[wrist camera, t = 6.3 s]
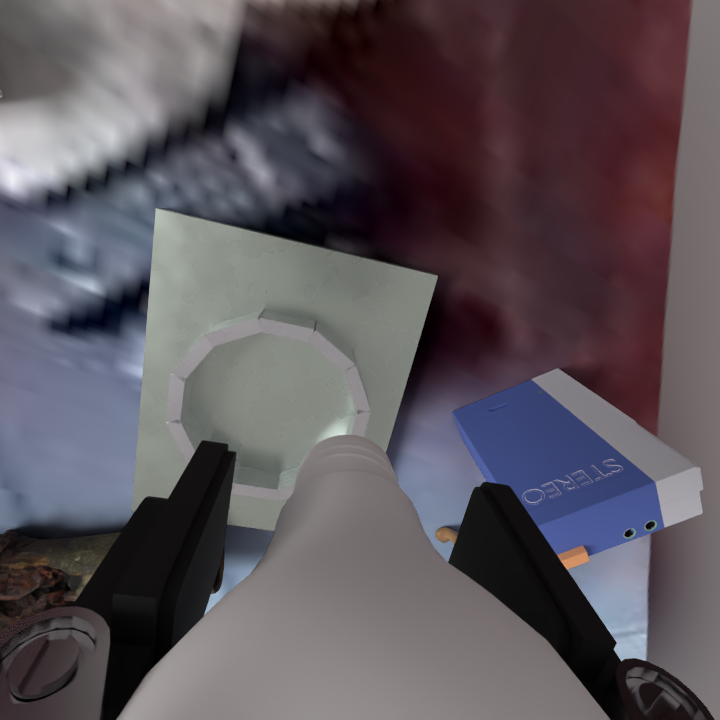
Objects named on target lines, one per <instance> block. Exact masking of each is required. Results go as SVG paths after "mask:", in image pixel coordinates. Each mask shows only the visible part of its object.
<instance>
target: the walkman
mask: <svg viewBox="0 0 720 720" xmlns="http://www.w3.org/2000/svg"><path fill="white" fill-rule="evenodd" d="M452 413H453V416H454V418H455V421H456V423H457V426H458V428H459V431H460V434H461V436H462V439H463V441H464V444H465V445H466V447H467V449H468V450H469V452H470V454H471V455H472V457H473V459H474V461H475V462H476V464H477V466H478V467H479V469H480V471H481V473H482V474H483V476H484V478H485V479H486V481H487V482H491V483H498V484H505V485H509V486H510V487H511V488H512V490H513V491H514V493H515V494H516V496H517V497H518V499H519V500H520V501H521V503H522V504H523V506H524V507H525V509H526V510H527V512H528V513H529V515H530V516H531V518H532V519H533V521H534V522H535V524H536V525H537V526H538V528H539V529H540V531H541V532H542V534H543V535H544V537H545V538H546V540H547V541H548V543H549V544H550V546H551V547H552V549H553V550H554V552H555V553H556V554H557V556H558V557H559V559H560V560H561V562H562V563H563V565H564V566H565V568H566V569H569V568H572V567H575V566H577V565H580V564H583V563H585V562H588V561H589V557H588V556H590V555H593V554H596V553H598V552H601V551H604V550H606V549H609V548H612V547H615V546H617V545H620V544H623V543H625V542H628V541H631V540H633V539H636V538H639V537H641V536H644V535H647V534H649V533H652V532H655V531H658V530H660V529H663V528H665V527H667V526H670V525H673V524H675V523H678V522H681V521H683V520H686V519H689V518H691V517H694V516H697V515H699V514H702V513H703V512H702V506H701V500H700V494H699V491H700V490H703V484H702V478H701V470H700V467H699V466H698V465H697V464H695V463H694V462H692V461H691V460H689V459H688V458H686V457H685V456H683V455H682V454H680V453H679V452H678V451H676V450H675V449H673V448H672V447H670V446H669V445H667V444H666V443H665V442H663V441H662V440H660V439H659V438H657V437H656V436H654V435H653V434H651V433H650V432H649V431H647V430H646V429H644V428H643V427H641V426H640V425H638V424H637V422H636V421H634V420H633V419H632V418H630V417H629V416H627V415H626V414H624V413H623V412H621V411H620V410H618V409H617V408H615V407H614V406H612V405H611V404H610V403H608V402H607V401H605V400H604V399H602V398H601V397H599V396H598V395H596V394H595V393H593V392H592V391H591V390H589V389H588V388H586V387H585V386H583V385H582V384H580V383H579V382H577V381H576V380H574V379H573V378H571V377H570V376H569V375H567V374H566V373H564V372H563V371H561V370H560V369H558V368H557V369H555V370H552V371H550V372H547V373H545V374H542V375H540V376H538V377H535V378H533V379H531V380H528V381H526V382H523V383H521V384H519V385H516V386H514V387H511V388H509V389H506V390H504V391H502V392H499V393H497V394H494V395H492V396H489V397H487V398H484V399H482V400H480V401H477V402H475V403H472V404H470V405H467V406H465V407H462V408H460V409H458V410H455V411H453V412H452Z"/></svg>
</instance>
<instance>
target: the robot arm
mask: <svg viewBox="0 0 720 720" xmlns="http://www.w3.org/2000/svg"><path fill="white" fill-rule="evenodd" d="M235 462H236V452H235V451H228V444H226V443H220V442H213V441H206V440H202V441H201V442H200V444H199V446H198V448H197V449H196V451H195V453H194V454H193V456H192V458H191V460H190V461H189V463H188V465H187V467H186V468H185V470H184V472H183V473H182V475H181V477H180V479H179V480H178V482H177V484H176V486H175V487H174V489H173V491H172V493H171V494H170V496H169V498H160V497H152V496H147V497H146V498H144V500H143V501H142V502H141V503H140V505H139V506H138V508H137V509H136V511H135V512H134V514H133V515H132V517H131V518H130V520H129V521H128V523H127V524H126V526H125V527H124V529H123V530H122V532H121V533H120V535H119V536H118V538H117V539H116V541H115V542H114V544H113V545H112V547H111V548H110V550H109V551H108V553H107V554H106V556H105V557H104V559H103V560H102V562H101V563H100V565H99V566H98V568H97V569H96V571H95V572H94V574H93V575H92V577H91V578H90V580H89V581H88V583H87V584H86V586H85V587H84V589H83V590H82V592H81V593H80V595H79V596H78V598H77V599H76V601H75V602H74V604H73V605H72V607H57V608H53V609H49V610H46V611H42V612H38V613H36V614H34V615H32V616H30V617H27V618H25V619H23V620H21V621H19V622H17V623H16V624H14V625H13V626H11V627H10V628H9V629H7V630H6V631H4V632H3V633H1V634H0V720H116V719H117V718H118V716H119V715H120V713H121V712H122V710H123V709H124V707H125V706H126V704H127V703H128V701H129V700H130V698H131V697H132V695H133V694H134V692H135V691H136V689H137V688H138V686H139V685H140V683H141V682H142V680H143V679H144V677H145V676H146V674H147V673H148V672H149V671H150V670H151V669H152V668H153V667H154V666H155V665H156V664H157V663H158V662H159V661H160V660H161V659H162V658H163V657H164V656H165V655H166V654H167V653H168V652H169V651H170V650H171V649H172V648H173V647H174V646H175V645H176V644H177V643H178V642H179V641H180V640H181V639H182V638H183V637H184V636H185V635H186V634H187V633H188V632H189V631H190V630H191V629H192V628H193V627H194V625H195V624H196V623H197V622H198V621H199V620H200V619H201V618H202V617H203V616H204V613H205V610H206V607H207V604H208V601H209V597H210V594H211V591H212V588H213V585H214V582H215V579H216V575H217V572H218V569H219V566H220V562H221V558H222V554H223V548H224V541H225V534H226V527H227V519H228V512H229V505H230V498H231V491H232V484H233V476H234V469H235ZM448 563H449V564H451V565H452V566H454V567H455V568H456V569H458V570H459V571H461V572H462V573H464V574H465V575H467V576H468V577H469V578H471V579H472V580H473V581H475V582H476V583H478V584H479V585H480V586H482V587H483V588H484V589H486V590H487V591H488V592H490V593H491V594H492V595H493V596H495V597H496V598H497V599H498V600H499V601H501V602H502V603H503V604H504V605H505V606H507V607H508V608H509V609H510V610H511V611H513V612H514V613H515V614H516V615H517V616H519V617H520V618H521V619H522V620H523V621H524V622H526V623H527V624H528V625H529V626H530V627H532V628H533V629H534V630H535V631H536V632H538V633H539V634H540V635H541V636H542V637H544V638H545V639H546V640H547V641H548V642H549V643H550V645H551V646H552V647H553V648H554V649H555V651H556V652H557V653H558V654H559V656H560V657H561V658H562V659H563V660H564V662H565V663H566V664H567V665H568V667H569V668H570V669H571V670H572V672H573V673H574V674H575V675H576V677H577V678H578V679H579V680H580V682H581V683H582V684H583V686H584V687H585V688H586V689H587V691H588V692H589V693H590V694H591V696H592V697H593V698H594V699H595V701H596V702H597V703H598V705H599V706H600V707H601V708H602V710H603V711H604V712H605V713H606V715H607V716H608V717H609V718H610V720H714V718H713V716H712V715H711V713H710V712H709V710H708V709H707V707H706V706H705V705H704V704H703V703H702V702H701V700H700V699H699V698H698V697H697V696H696V695H695V694H694V693H693V692H692V691H691V690H690V689H689V688H688V687H687V686H685V685H684V684H683V683H682V682H681V681H680V680H679V679H677V678H676V677H674V676H673V675H671V674H670V673H669V672H667V671H666V670H664V669H663V668H660V667H658V666H656V665H654V664H652V663H650V662H648V661H644V660H640V659H636V658H632V659H624V660H623V661H621V660H620V659H619V657H618V656H617V654H616V653H615V651H614V650H613V649H614V647H615V645H616V641H615V640H614V638H613V637H612V635H611V634H610V632H609V631H608V630H607V628H606V627H605V625H604V624H603V622H602V621H601V619H600V618H599V616H598V615H597V613H596V612H595V610H594V609H593V607H592V606H591V604H590V603H589V602H588V600H587V599H586V597H585V596H584V594H583V593H582V591H581V590H580V588H579V587H578V585H577V584H576V582H575V581H574V579H573V578H572V577H571V575H570V574H569V572H568V571H567V569H566V568H565V566H564V565H563V563H562V562H561V560H560V559H559V557H558V556H557V554H556V553H555V552H554V550H553V549H552V547H551V546H550V544H549V543H548V541H547V540H546V538H545V537H544V535H543V534H542V532H541V531H540V529H539V528H538V526H537V525H536V524H535V522H534V521H533V519H532V518H531V516H530V515H529V513H528V512H527V510H526V509H525V507H524V506H523V504H522V503H521V501H520V500H519V499H518V497H517V496H516V494H515V493H514V491H513V490H512V488H511V487H510V486H509V485H505V484H498V483H491V482H484V483H482V485H481V486H480V487H475V488H474V490H473V492H472V495H471V498H470V501H469V504H468V506H467V509H466V512H465V515H464V518H463V521H462V524H461V527H460V530H459V533H458V536H457V539H456V541H455V544H454V547H453V550H452V553H451V556H450V559H449V562H448Z"/></svg>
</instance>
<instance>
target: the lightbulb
mask: <svg viewBox="0 0 720 720" xmlns="http://www.w3.org/2000/svg"><path fill="white" fill-rule="evenodd" d="M116 720H610V718H609V717H608V716H607V715H606V713H605V712H604V711H603V710H602V708H601V707H600V706H599V705H598V703H597V702H596V701H595V699H594V698H593V697H592V696H591V694H590V693H589V692H588V691H587V689H586V688H585V687H584V686H583V684H582V683H581V682H580V680H579V679H578V678H577V677H576V675H575V674H574V673H573V672H572V670H571V669H570V668H569V667H568V665H567V664H566V663H565V662H564V660H563V659H562V658H561V657H560V656H559V654H558V653H557V652H556V651H555V649H554V648H553V647H552V646H551V645H550V643H549V642H548V641H547V640H546V639H545V638H544V637H542V636H541V635H540V634H539V633H538V632H536V631H535V630H534V629H533V628H532V627H530V626H529V625H528V624H527V623H526V622H524V621H523V620H522V619H521V618H520V617H519V616H517V615H516V614H515V613H514V612H513V611H511V610H510V609H509V608H508V607H507V606H505V605H504V604H503V603H502V602H501V601H499V600H498V599H497V598H496V597H495V596H493V595H492V594H491V593H490V592H488V591H487V590H486V589H484V588H483V587H482V586H480V585H479V584H478V583H476V582H475V581H473V580H472V579H471V578H469V577H468V576H467V575H465V574H464V573H462V572H461V571H459V570H458V569H456V568H455V567H454V566H452V565H451V564H449V563H448V562H447V561H446V560H445V559H444V558H443V557H442V556H441V555H440V554H439V553H438V552H437V550H436V549H435V548H434V547H433V545H432V543H431V542H430V540H429V538H428V537H427V535H426V533H425V531H424V530H423V527H422V524H421V522H420V519H419V516H418V514H417V511H416V509H415V507H414V505H413V503H412V501H411V500H410V499H409V497H408V496H407V495H406V494H405V493H404V492H403V490H402V489H401V488H400V486H399V484H398V481H397V477H396V475H395V473H394V471H393V469H392V466H391V462H390V460H389V458H388V456H387V454H386V453H385V452H384V451H383V449H382V448H381V447H379V446H378V445H377V444H376V443H374V442H373V441H371V440H369V439H367V438H364V437H360V436H356V435H337V436H333V437H329V438H327V439H325V440H323V441H321V442H319V443H318V444H316V445H315V446H313V447H312V448H311V449H310V450H309V451H308V452H307V454H306V455H305V457H304V459H303V460H302V463H301V466H300V469H299V472H298V475H297V478H296V483H295V486H294V489H293V494H292V495H291V496H290V497H289V498H288V500H287V501H286V503H285V504H284V506H283V508H282V509H281V511H280V514H279V517H278V519H277V522H276V526H275V529H274V533H273V536H272V539H271V541H270V543H269V545H268V547H267V550H266V552H265V554H264V556H263V558H262V559H261V561H260V562H259V563H258V564H257V566H256V567H255V568H254V570H253V571H252V572H251V574H250V575H249V576H247V577H246V578H245V579H244V580H243V581H241V582H240V583H239V584H238V585H237V586H235V587H234V588H233V589H232V590H231V591H229V592H228V593H227V594H226V595H225V596H224V597H223V598H222V599H221V600H220V601H219V602H218V603H217V604H216V605H215V606H214V607H213V608H212V609H211V610H210V611H209V612H207V613H206V614H205V615H204V616H203V617H202V618H201V619H200V620H199V621H198V622H197V623H196V624H195V625H194V627H193V628H192V629H191V630H190V631H189V632H188V633H187V634H186V635H185V636H184V637H183V638H182V639H181V640H180V641H179V642H178V643H177V644H176V645H175V646H174V647H173V648H172V649H171V650H170V651H169V652H168V653H167V654H166V655H165V656H164V657H163V658H162V659H161V660H160V661H159V662H158V663H157V664H156V665H155V666H154V667H153V668H152V669H151V670H150V671H149V672H148V673H147V674H146V676H145V677H144V679H143V680H142V682H141V683H140V685H139V686H138V688H137V689H136V691H135V692H134V694H133V695H132V697H131V698H130V700H129V701H128V703H127V704H126V706H125V707H124V709H123V710H122V712H121V713H120V715H119V716H118V718H117V719H116Z"/></svg>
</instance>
